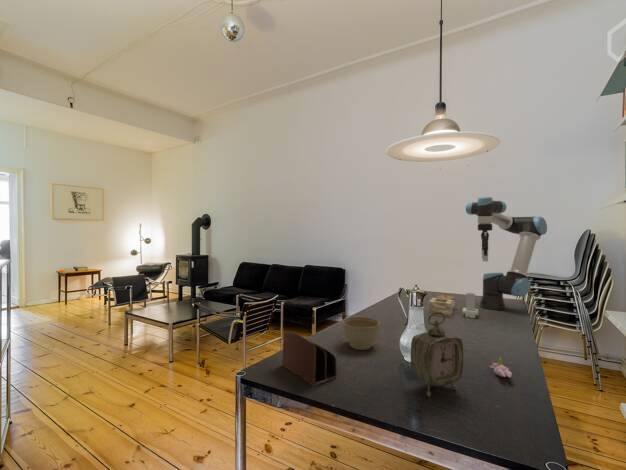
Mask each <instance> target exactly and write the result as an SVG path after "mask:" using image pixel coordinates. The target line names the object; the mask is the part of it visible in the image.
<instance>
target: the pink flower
mask: <svg viewBox="0 0 626 470" xmlns="http://www.w3.org/2000/svg"><path fill="white" fill-rule="evenodd" d="M503 362H504V361H503V359H502V358H501V357H499V358H498V361H497V362H493V361H492V363H491V365H490V366H489V367H490V368H491V369H493V373H495V375H498V376H499V377H502V378H503V377H504V378H505V377H508V378H511V377H512V375H513V373H512V371H510V368H509V367H506V366H505V365H503Z"/></svg>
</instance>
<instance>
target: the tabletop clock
mask: <svg viewBox="0 0 626 470" xmlns="http://www.w3.org/2000/svg"><path fill="white" fill-rule="evenodd" d="M436 314H441V315H442V316H441V317H442V318H443V319H442V320H441V321H440V322H439V321H438V320H435V321H434V322H433V323H432V322H431V321H430V320H431V317H433V316H436ZM445 320H446V317H445V315H444V314H443V313H441V312H435V313H432V314H431V315H429V316H428V318H427V323H428V324H429V325H431V326H430V327H429V328H428V330H427V331H426V332H422V333H418V334H416V335H414V336H412V339H411V342H410V367H411V370H412V373H413V375H414V377H417V378H418V379H419V380H422V381H423V382H424V383H426V385H427V387H426V388H427V390H426V391H425V395H426V397H431V396H432V393H431V391H430V389H431V388H432V387H441V386H447V385H450V384H451V386H450V387H451V389H452V390H453V391H455V390H457V388H458V387H457V385H456V384H455V382H457V381H458V380H460V379H461V378H462V375H463V374H462V373H463V369H464V347H463V345H464V344H463V341H462V339H461V338H459V337H457V336H453V335H451V334H449V333H447V332H445V330H444V328H443V326H440V325H442V324H444V322H445Z"/></svg>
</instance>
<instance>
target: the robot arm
mask: <svg viewBox="0 0 626 470" xmlns="http://www.w3.org/2000/svg"><path fill="white" fill-rule="evenodd" d="M506 210H507V204H506V202H504V201H503V200H493V197H491V196H482V197H481V196H480V197H478V198H477V202H474V201H473V202H469V203H467V204H466V205H465V212H466V214H467V215H470V216H472V215H473V216H474V215H475V216H477V230H478V231H481V233H480V237H481V239H480V240H481V259H482V262H489V240H490V239H489V238H490V233H489V231H493V224H495V225H497V226H498V227H499V228H500V230H501V229H502V230H503V231H506V232H509V233H511V234H515V235H518V236H519V237H520V238H519V241H518V245H517V248H516V251H515V255H514V258H513V260H512V264H511V268H510V270H508V271H506V275H504V273H503V272H486V273H484V274H483V276H482V296H481V298H480V301H479V307H480V308H482V309H487V310H492V311H505V310H506V309H507V306H506V305H507V304H506V302H505V298H504V295H508V296H513V297H521V298H522V297H525V296H526V295H528V293H529V291H530V290H531V281H530V280H529V276H528V273H527V272H528V270H529V266H530V262H531V260H532V256H533V253H534V249H535V246H536V242H537V241H538V240H540V239H541V236H544V235H546V234H547V232H548V224H547V221H546V220H545V218H544V217H543V216H537V215H534V216H510V215H505V214H503V213H504V212H506Z"/></svg>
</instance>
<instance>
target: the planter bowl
mask: <svg viewBox="0 0 626 470" xmlns="http://www.w3.org/2000/svg"><path fill="white" fill-rule="evenodd" d="M380 325H381V323H380V321H379V320H377V319H375V318H372V317H367V316H349V317H345V318H344V319H343V320H342V328H343V333H344V334H343V335H344V336H345V338H346V340H347V342H348V343H349V346H350V347H351V348H352V349H355V350H361V351H362V350H363V351H364V350H369V349H371V348H372V347H373V344H374V342H376V339H377V338H378V335H379V331H380V330H379V329H380Z"/></svg>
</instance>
